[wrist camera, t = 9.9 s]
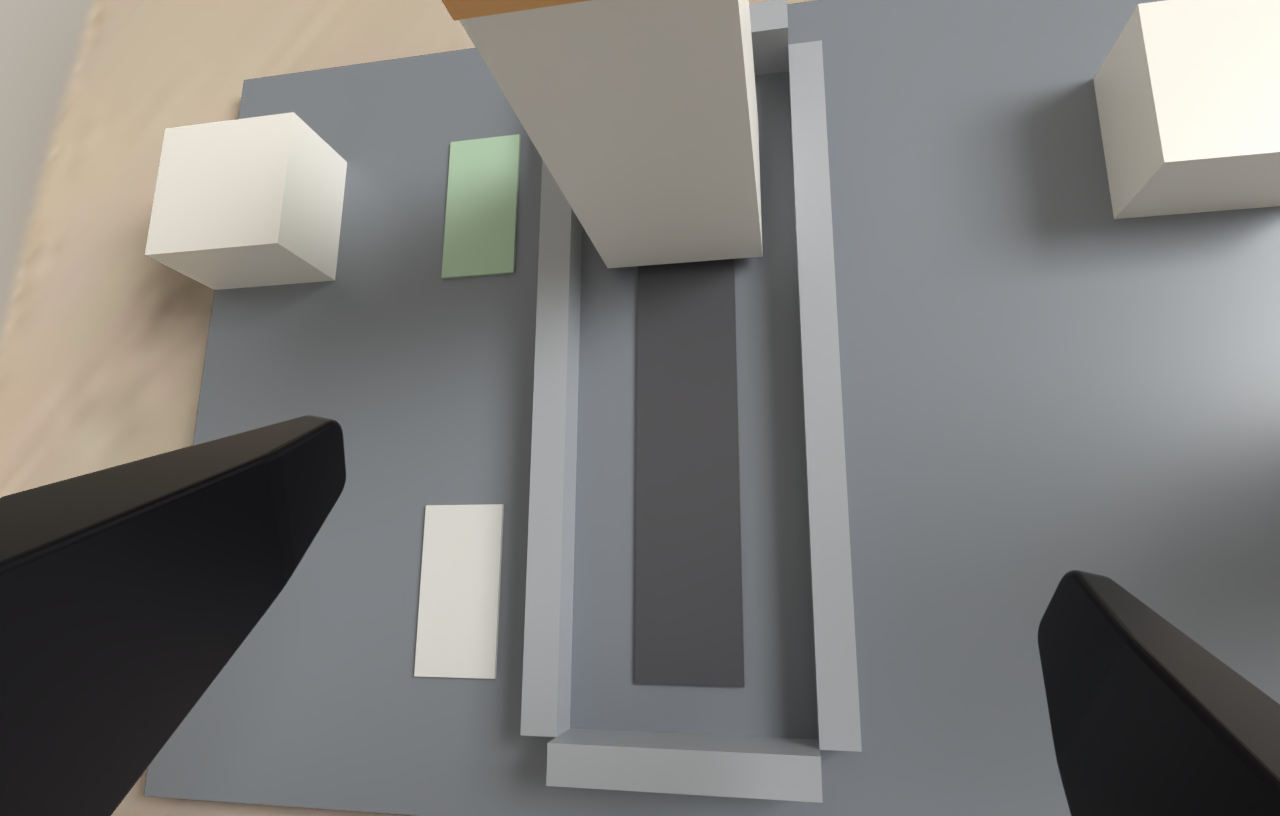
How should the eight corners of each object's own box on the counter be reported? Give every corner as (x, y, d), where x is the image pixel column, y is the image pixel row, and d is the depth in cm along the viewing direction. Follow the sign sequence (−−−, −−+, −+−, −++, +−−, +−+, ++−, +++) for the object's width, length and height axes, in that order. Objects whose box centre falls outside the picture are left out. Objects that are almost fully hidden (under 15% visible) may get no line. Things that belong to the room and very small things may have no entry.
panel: (1425, 876, 14) (1592, 955, 11) (163, 789, 19) (51, 827, 16) (1238, -41, 18) (1321, -157, 15) (257, 92, 23) (182, 24, 21)
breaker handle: (765, 258, 18) (723, -202, 7) (606, 270, 19) (362, -131, 8) (760, 120, 19) (717, -471, 8) (607, 137, 19) (389, -385, 9)
